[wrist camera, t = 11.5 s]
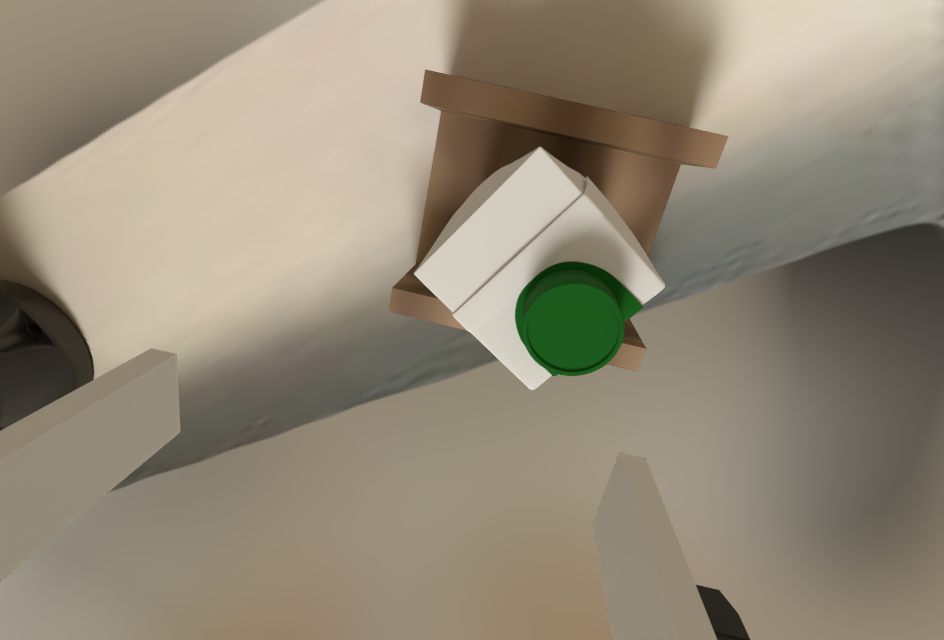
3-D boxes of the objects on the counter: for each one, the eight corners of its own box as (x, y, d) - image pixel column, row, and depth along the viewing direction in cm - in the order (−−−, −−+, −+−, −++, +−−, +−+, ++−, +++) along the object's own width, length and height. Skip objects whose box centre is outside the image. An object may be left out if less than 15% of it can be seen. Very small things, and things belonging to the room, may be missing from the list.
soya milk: (531, 295, 39) (530, 432, 20) (454, 215, 37) (376, 284, 19) (616, 220, 36) (706, 301, 17) (536, 131, 34) (541, 114, 16)
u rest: (414, 281, 40) (388, 311, 33) (447, 85, 35) (425, 69, 27) (618, 330, 40) (637, 371, 32) (686, 138, 34) (728, 136, 27)
